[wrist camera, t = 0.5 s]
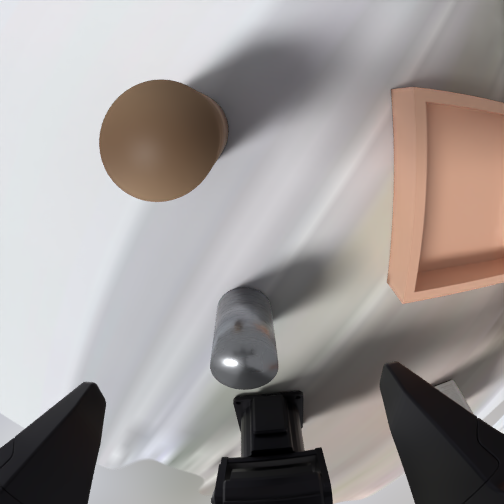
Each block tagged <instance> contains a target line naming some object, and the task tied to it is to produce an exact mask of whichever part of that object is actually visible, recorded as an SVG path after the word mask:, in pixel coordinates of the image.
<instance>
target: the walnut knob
mask: <svg viewBox="0 0 504 504" xmlns="http://www.w3.org/2000/svg"><path fill="white" fill-rule="evenodd" d="M228 132H229V131H228V122H227V118H226V116H225V114H224V112H223V110H222V108H221V107H220V106H219V105H218V104H217V103H216V102H215V101H214V100H213V99H211V98H210V97H208V96H206V95H204V94H202V93H200V92H198V91H196V90H194V89H192V88H190V87H188V86H186V85H184V84H182V83H179V82H175V81H171V80H151V81H146V82H143V83H140V84H138V85H135V86H133V87H132V88H130V89H128V90H127V91H125V92H124V93H123V94H122V95H120V96H119V97H118V98H117V99H116V100H115V102H114V103H113V104H112V106H111V107H110V108H109V110H108V112H107V114H106V115H105V118H104V120H103V123H102V127H101V131H100V138H99V147H100V154H101V159H102V162H103V165H104V167H105V169H106V171H107V173H108V175H109V176H110V178H111V179H112V181H113V182H114V183H115V184H116V185H117V186H118V187H119V188H121V189H122V190H123V191H124V192H126V193H127V194H129V195H131V196H133V197H135V198H138V199H141V200H145V201H151V202H163V201H169V200H174V199H176V198H179V197H182V196H184V195H186V194H187V193H189V192H190V191H192V190H193V189H195V188H196V187H197V186H198V185H199V184H200V183H201V182H202V181H203V180H204V179H205V177H206V176H207V174H208V173H209V172H210V170H211V168H212V167H213V165H214V164H215V162H216V161H217V159H218V158H219V156H220V155H221V153H222V152H223V150H224V148H225V146H226V143H227V139H228Z"/></svg>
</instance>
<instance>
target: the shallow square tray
mask: <svg viewBox="0 0 504 504" xmlns="http://www.w3.org/2000/svg"><path fill="white" fill-rule="evenodd" d="M391 97H392V112H393V133H394V198H393V221H392V236H391V249H390V260H389V270H388V279H387V283H388V284H389V286H390V287H391V288H392V290H393V291H394V292H395V294H396V295H397V297H398V298H399V299H400V301H401V302H402V304H405V303H410V302H415V301H421V300H426V299H431V298H436V297H441V296H446V295H451V294H455V293H460V292H464V291H469V290H473V289H478V288H482V287H486V286H490V285H494V284H498V283H502V282H504V103H502V102H498V101H494V100H489V99H485V98H480V97H475V96H470V95H465V94H459V93H454V92H447V91H441V90H434V89H426V88H418V87H407V88H397V89H391Z"/></svg>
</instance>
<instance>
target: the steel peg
mask: <svg viewBox="0 0 504 504" xmlns="http://www.w3.org/2000/svg"><path fill="white" fill-rule="evenodd" d="M210 369H211V372H212V374H213V376H214V377H215V378H216V379H217V380H218V381H219V382H220V383H222V384H223V385H226V386H228V387H231V388H235V389H243V390H245V389H254V388H258V387H261V386H264V385H265V384H267V383H269V382H270V381H271V380H272V379H273V378H274V377H275V376H276V374H277V372H278V358H277V350H276V341H275V333H274V325H273V317H272V309H271V304H270V301H269V299H268V298H267V297H266V296H265V295H264V294H263V293H262V292H260V291H258V290H256V289H253V288H246V287H242V288H236V289H233V290H230V291H229V292H227V293H226V294H224V295H223V296H222V298H221V299H220V301H219V303H218V307H217V314H216V322H215V330H214V338H213V346H212V354H211V363H210Z"/></svg>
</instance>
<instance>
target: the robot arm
mask: <svg viewBox="0 0 504 504" xmlns="http://www.w3.org/2000/svg"><path fill="white" fill-rule="evenodd" d="M380 390H381V394H382V398H383V402H384V406H385V410H386V415H387V419H388V423H389V427H390V431H391V434H392V437H393V439H394V442H395V445H396V448H397V450H398V453H399V456H400V459H401V462H402V465H403V468H404V471H405V474H406V476H407V480H408V482H409V486H410V489H411V492H412V495H413V498H414V502H415V504H504V434H503V433H501V432H499V431H498V430H496V429H495V428H493V427H491V426H490V425H488V424H487V423H485V422H484V421H483V420H481V419H480V418H477V416H475V415H474V414H472V413H471V412H469V411H468V410H466V409H465V408H464V407H462V406H461V405H459V404H458V403H456V402H455V401H454V400H452V399H451V398H449V397H448V396H446V395H445V394H443V393H442V392H441V391H439V390H438V389H436V388H435V387H433V386H432V385H431V384H429V383H428V382H426V381H425V380H423V379H422V378H421V377H419V376H418V375H416V374H415V373H413V372H412V371H411V370H409V369H408V368H406V367H405V366H403V365H402V364H401V363H399V362H396V361H395V362H390V363H386V364H385V365H384V367H383V371H382V375H381V379H380ZM233 404H234V408H235V412H236V415H237V419H238V423H239V427H240V431H241V457H237V458H228V457H222V460H221V464H219V469H218V475H217V481H216V486H215V490H214V493H213V495H212V498H211V503H212V504H333V500H332V490H331V484H330V479H329V475H328V471H327V467H326V463H325V459H324V455H323V451H322V448H321V447H320V448H315V449H314V450H308V451H304V444H303V437H302V431H301V429H302V427H303V393H302V392H300V391H295V392H286V393H277V394H267V395H255V396H241V397H235V398H234V401H233ZM105 408H106V401H105V398H104V396H103V395H102V393H101V391H100V389H99V388H98V386H97V384H96V383H94V382H83V383H82V384H81V385H79V386H78V387H77V388H76V389H74V390H73V391H72V392H71V393H69V394H68V395H67V396H66V397H64V398H63V399H62V400H60V401H59V402H58V403H57V404H55V405H54V406H53V407H52V408H50V409H49V410H48V411H47V412H45V413H44V414H43V415H42V416H40V417H39V418H38V419H37V420H35V421H34V422H33V423H32V424H30V425H29V426H28V427H27V428H25V429H24V430H23V431H22V432H20V433H19V434H18V435H17V436H16V437H15V438H13V439H12V440H10V441H9V442H8V443H6V444H5V445H4V446H3V447H1V448H0V504H88V499H89V494H90V489H91V484H92V479H93V474H94V470H95V465H96V461H97V456H98V452H99V448H100V443H101V437H102V429H103V422H104V415H105Z"/></svg>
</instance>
